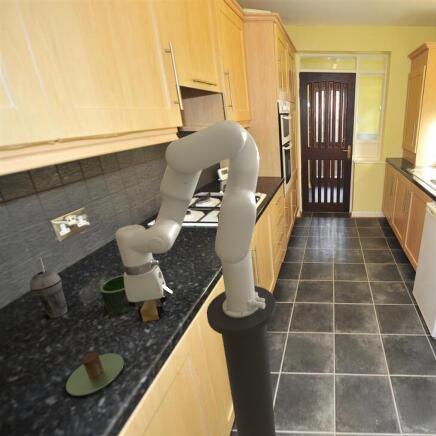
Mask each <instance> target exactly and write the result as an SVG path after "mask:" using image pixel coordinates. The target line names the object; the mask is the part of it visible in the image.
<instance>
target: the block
mask: <svg viewBox="0 0 436 436" xmlns="http://www.w3.org/2000/svg"><path fill="white" fill-rule="evenodd" d="M143 303H144V304H143V306H142V308H141V310H140V311H141V315H142V318H143V320H142V321H143V322H145V323H146V322H150V321H151V322H152V321H158V320H159V319H160V317H159V315H158V311H157V306H158V305H157V303H156V301H155V300H154V299H153V300H146V301H143Z"/></svg>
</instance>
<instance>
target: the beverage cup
mask: <svg viewBox="0 0 436 436" xmlns="http://www.w3.org/2000/svg"><path fill="white" fill-rule="evenodd" d="M39 263H40V267H41V271H39V272H37V273H35V274H34V275H33V276H32V277H31V279H30V281H29V289H30V291H31V292H32V293H33V294H34V295H35V296H36V298H37V300H38V302H39V303H40V304H41V306H42V308H43V310H44V312H45V313H46V315H48V317H49V319H57V318H61V317H62V316H64V315H66V314H67V313H68V304H67V301H66V298H65V297H66V296H65V293H64V290H63V282H62V277H60V275H59V274H58V273H57V272H55V271H52V270H46V269H45V266H44V262H43V258H42V257H39Z"/></svg>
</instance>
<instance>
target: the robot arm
mask: <svg viewBox="0 0 436 436" xmlns="http://www.w3.org/2000/svg"><path fill="white" fill-rule="evenodd" d="M226 160H228V167H227V177H226V183H225V190H224V193H223V195H222V199H221V202H220V207H219V213H218V220H217V229H216V234H215V241H214V251H215V254H216V255H217V257H218V258H219V259H220V263H221V272H222V279H223V286H224V291H225V294H226V300H225V301H224V303H223V311H224V313H225V314H226V315H228V316H230V317H234V318H241V317H246V316H248V315H251V314H253V313H254V312H255V311H256V310H257V309H258V308H261V309H264V308H265V303H264V302H265V299H264V298H259V297H258V292H255V290H254V286H255V280H254V270H253V258H252V257H253V256H252V248H251V246H252V241H253V235H254V230H255V225H256V220H257V213H258V212H257V210H258V209H257V202H256V191H257V185H258V178H259V172H260V153H259V149H258V145H257V144H256V141H255V139H254V138H253V136H252V135H251V133H250V132H249V131H248V130H247V129H245V128H244V126H243V125H241V124H240V123H238V122H237V121H236V120H235V121H234V120H231V119H223V120H220V121H218V122H215V123H213V124H211V125H209V126H207V127H204V128H201V129H200V130H197V131H195V132H193V133H190V134H188V135H186V136H183V137H180V138H177V139H175V140H173V141H172V142H170V144H168V146H167V147H166V150H165V161H166V164H167V165H166V168H165V171H164V174H163V177H162V180H161V183H160V186H159V192H160V194H161V197H162V198H161V203H160V208H159V211H158V214H157V216H156V220H155V221H154V223H153V224H152V225H151V226H150V227H149V228H145V226H144V225H141V224H130V225H125V226H123V227H120V228H119V229H117V230H116V232H115V234H114V237H115V240H116V244H117V248H118V252H119V255H120V258H121V261H122V264H123V265H122V266H123V268H124V272H123V275H124V287H125V292H126V294H125V296H124V298H123V300H122V302H124V303H126V304H129V305H131V306H133V307H135V309H134V310H136V311H137V314H138V317H140V320H141V321H143V318H142V315H141V311H140V310H141V308H142V306H143V304H144V302H145V301H153V300H155V301H156V303H157V305H158V306H157V311H158V315H159V318H162V317H163V315H164V313H165V312H166V307H165V302H167V300H168V299H169V298H171V297H172V296H173V294H174V291H173V290H171V289H170V288H168V287H167V284H166V281H165V277H164V275H163V272H162V270H161V269H160V267H159V265H160V260H159V259H157V260H156V259H155V257H153V254H163V253H166V252H168V251H170V250H171V248H172V247H173V245H174V243H175V242H176V239H177V237H178V236H179V233H180V232H181V229H182V226H183V224H184V221H185V218H186V216H187V212H188V209H189V206H190V205H191V203H192V201H193V200H192V199H193V196H194V194H195V191H196V188H197V185H198V182H199V179H200V177H201V174H202V172H203V170H205V169H207V168H211V167H212V166H214V165H216V164H220V163H221V162H223V161H226ZM262 302H263V303H262Z"/></svg>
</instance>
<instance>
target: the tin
mask: <svg viewBox="0 0 436 436" xmlns="http://www.w3.org/2000/svg"><path fill="white" fill-rule="evenodd" d="M99 292H100V294H101V298H102V301H103V304H104V307H105V309H106V312H107V313H108V314H110V315H122V314H125V313H129V312H131V311H133V310H136V309H135V307H133V306H131V305H129V304H126V303H124V302H122V300H123V298H124V296H125V294H126V292H125V287H124V274H121V275H117V276H114V277H112V278H109V279H107V280H106V281H105V282H103V283H102V284H101V285H100V287H99Z"/></svg>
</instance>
